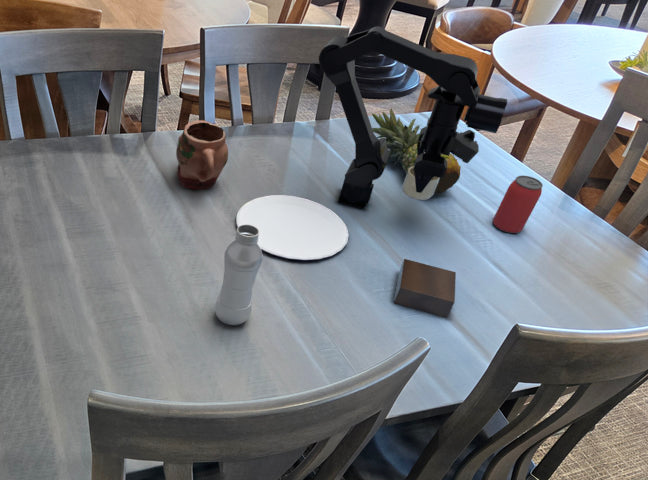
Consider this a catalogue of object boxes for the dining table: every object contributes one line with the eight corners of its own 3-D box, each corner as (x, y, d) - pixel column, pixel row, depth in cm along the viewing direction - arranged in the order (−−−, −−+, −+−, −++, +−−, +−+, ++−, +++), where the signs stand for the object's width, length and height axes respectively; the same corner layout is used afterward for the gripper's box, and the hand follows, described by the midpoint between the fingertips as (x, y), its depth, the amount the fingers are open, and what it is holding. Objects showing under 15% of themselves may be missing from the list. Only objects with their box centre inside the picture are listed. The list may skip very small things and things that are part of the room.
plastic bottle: (210, 306, 120) (224, 219, 107) (245, 305, 121) (263, 219, 108) (216, 330, 115) (231, 242, 102) (252, 329, 116) (272, 241, 103)
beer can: (525, 236, 144) (549, 191, 136) (495, 232, 145) (517, 187, 137) (517, 220, 149) (540, 176, 141) (488, 216, 150) (510, 172, 142)
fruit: (477, 155, 148) (404, 91, 167) (430, 172, 147) (362, 106, 166) (464, 197, 158) (397, 133, 177) (420, 214, 157) (357, 147, 176)
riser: (393, 302, 124) (400, 287, 121) (398, 273, 131) (404, 258, 128) (447, 317, 121) (454, 302, 118) (448, 287, 128) (455, 272, 126)
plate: (212, 227, 140) (213, 222, 139) (275, 187, 155) (276, 182, 154) (309, 279, 128) (310, 274, 127) (367, 230, 142) (369, 226, 142)
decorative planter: (235, 203, 148) (244, 150, 139) (185, 208, 146) (191, 154, 137) (210, 161, 163) (216, 111, 154) (164, 165, 160) (168, 114, 151)
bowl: (400, 195, 142) (407, 176, 139) (402, 182, 147) (409, 163, 144) (431, 203, 141) (439, 183, 137) (433, 188, 146) (440, 169, 142)
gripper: (484, 147, 124) (456, 214, 134) (484, 111, 137) (457, 174, 147) (426, 135, 127) (402, 201, 137) (430, 101, 140) (408, 163, 150)
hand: (419, 184), depth 143 cm, fingers closed on bowl, 7 cm apart
